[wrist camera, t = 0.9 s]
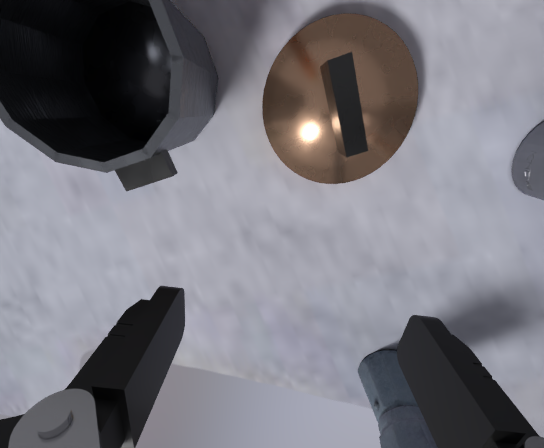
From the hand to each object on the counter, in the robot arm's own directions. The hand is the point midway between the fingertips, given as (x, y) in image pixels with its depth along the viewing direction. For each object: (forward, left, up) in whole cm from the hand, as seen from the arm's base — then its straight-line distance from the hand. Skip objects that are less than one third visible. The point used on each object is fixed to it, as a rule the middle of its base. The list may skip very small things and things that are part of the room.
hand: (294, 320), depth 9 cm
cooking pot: (+9, -13, -22) cm, 28 cm away
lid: (-8, -5, -23) cm, 24 cm away
